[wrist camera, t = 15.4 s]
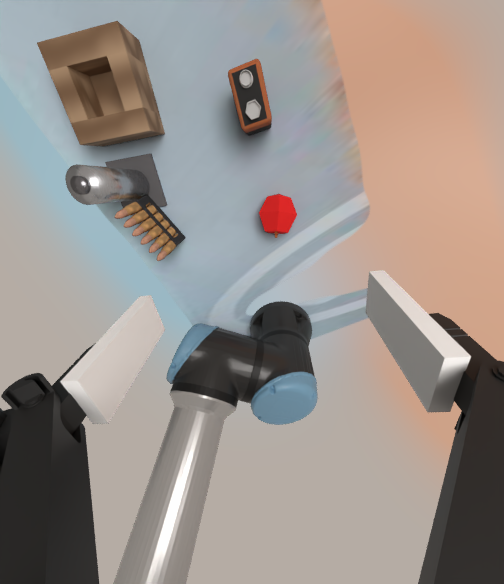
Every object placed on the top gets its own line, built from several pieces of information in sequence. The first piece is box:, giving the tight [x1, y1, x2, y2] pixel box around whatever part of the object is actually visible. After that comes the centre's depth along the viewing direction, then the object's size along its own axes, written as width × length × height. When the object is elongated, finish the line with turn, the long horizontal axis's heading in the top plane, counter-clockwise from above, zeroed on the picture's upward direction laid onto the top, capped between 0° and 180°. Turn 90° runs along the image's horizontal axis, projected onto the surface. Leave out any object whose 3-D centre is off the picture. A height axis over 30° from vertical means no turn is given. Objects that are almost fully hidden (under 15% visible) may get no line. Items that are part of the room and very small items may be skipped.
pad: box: [105, 154, 167, 208], centre depth 46 cm, size 9×9×1 cm
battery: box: [228, 59, 272, 135], centre depth 35 cm, size 4×7×10 cm, turn 16°
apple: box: [259, 194, 297, 238], centre depth 45 cm, size 7×7×8 cm
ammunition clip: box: [115, 195, 185, 261], centre depth 44 cm, size 11×2×12 cm, turn 36°
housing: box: [37, 21, 165, 146], centre depth 37 cm, size 12×12×6 cm
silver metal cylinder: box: [66, 165, 149, 205], centre depth 40 cm, size 5×5×14 cm
